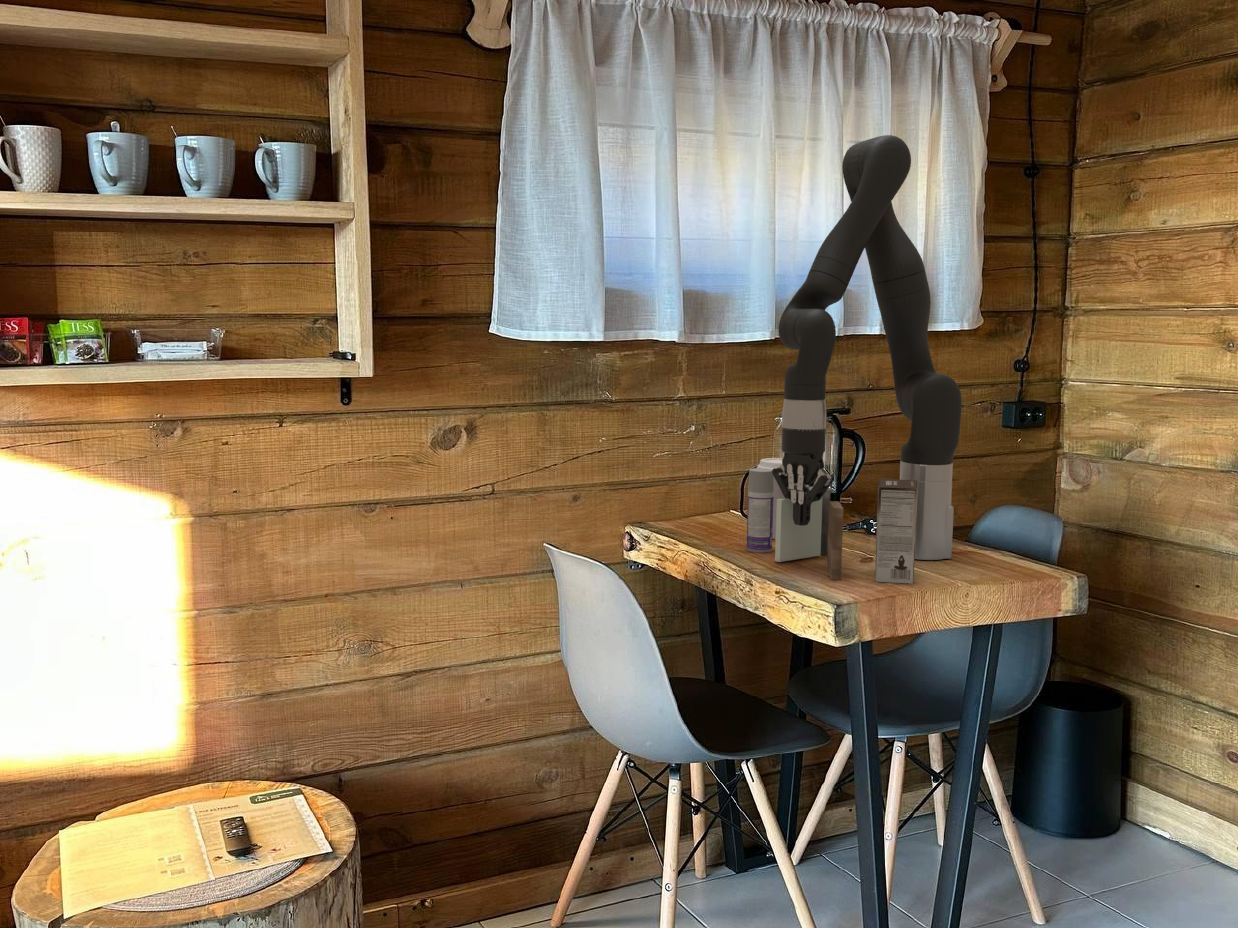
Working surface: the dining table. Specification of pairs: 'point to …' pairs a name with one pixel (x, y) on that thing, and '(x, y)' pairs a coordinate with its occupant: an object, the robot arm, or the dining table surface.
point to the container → (760, 510)
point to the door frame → (832, 535)
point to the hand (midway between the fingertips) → (801, 524)
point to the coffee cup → (771, 464)
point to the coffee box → (896, 530)
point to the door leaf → (797, 532)
